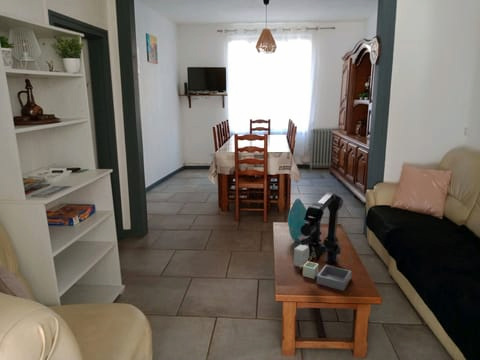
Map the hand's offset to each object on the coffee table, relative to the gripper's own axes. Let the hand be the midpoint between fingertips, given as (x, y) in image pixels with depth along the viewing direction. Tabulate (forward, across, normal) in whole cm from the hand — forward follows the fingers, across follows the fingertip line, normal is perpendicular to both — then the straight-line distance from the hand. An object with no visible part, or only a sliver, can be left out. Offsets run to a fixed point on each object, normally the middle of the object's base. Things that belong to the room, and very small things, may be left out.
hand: (313, 256), depth 188 cm
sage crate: (+13, -4, 0) cm, 14 cm away
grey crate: (+13, +4, +10) cm, 17 cm away
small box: (+13, -17, -1) cm, 21 cm away
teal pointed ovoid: (+14, -47, +6) cm, 50 cm away
